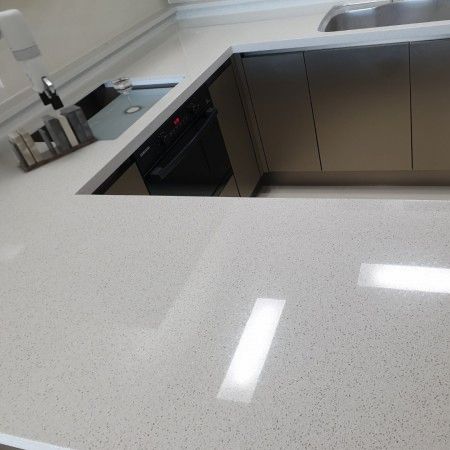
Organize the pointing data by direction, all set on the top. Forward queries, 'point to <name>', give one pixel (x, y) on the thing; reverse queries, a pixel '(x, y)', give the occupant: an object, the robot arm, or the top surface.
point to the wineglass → (124, 89)
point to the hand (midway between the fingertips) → (54, 106)
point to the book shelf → (30, 152)
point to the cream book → (66, 129)
